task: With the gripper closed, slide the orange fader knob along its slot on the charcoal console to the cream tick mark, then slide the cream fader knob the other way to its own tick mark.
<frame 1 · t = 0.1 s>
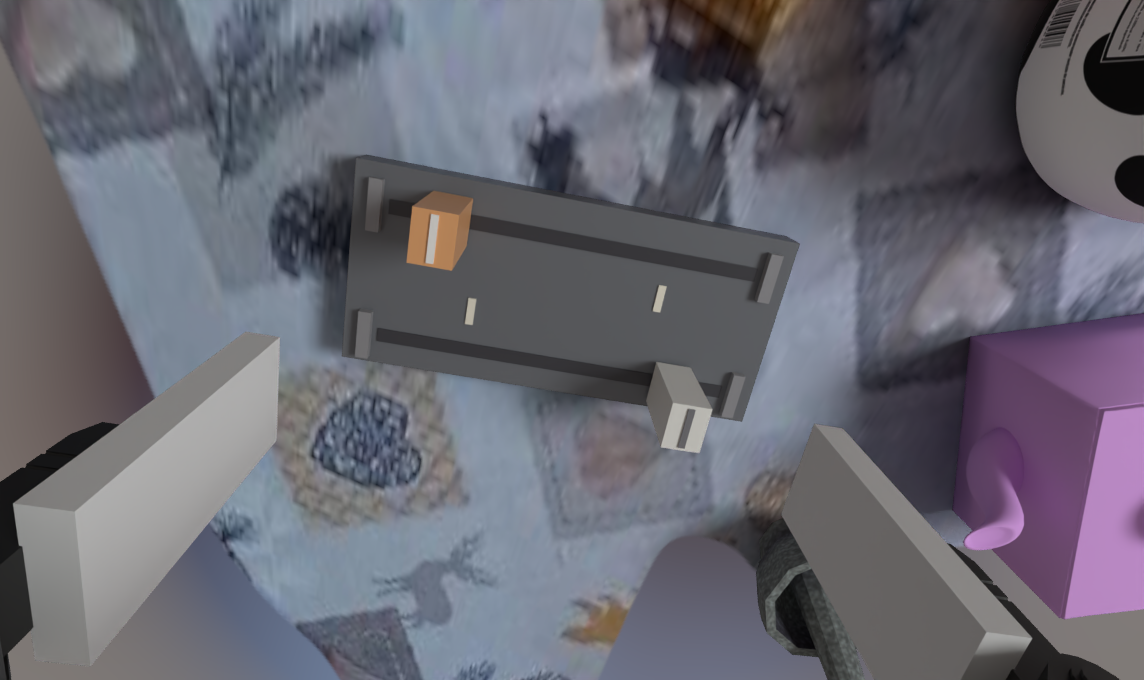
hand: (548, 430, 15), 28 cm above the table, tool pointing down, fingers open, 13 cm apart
cow-print canister: (1124, 71, 39), on the table
mortar and pestle: (795, 549, 52), on the table
teapot: (1027, 417, 48), on the table
console: (565, 290, 43), on the table
cream fader: (676, 405, 40), point 6 cm above the table, slide at 8.0 cm
orange fader: (442, 228, 35), point 6 cm above the table, slide at -8.0 cm
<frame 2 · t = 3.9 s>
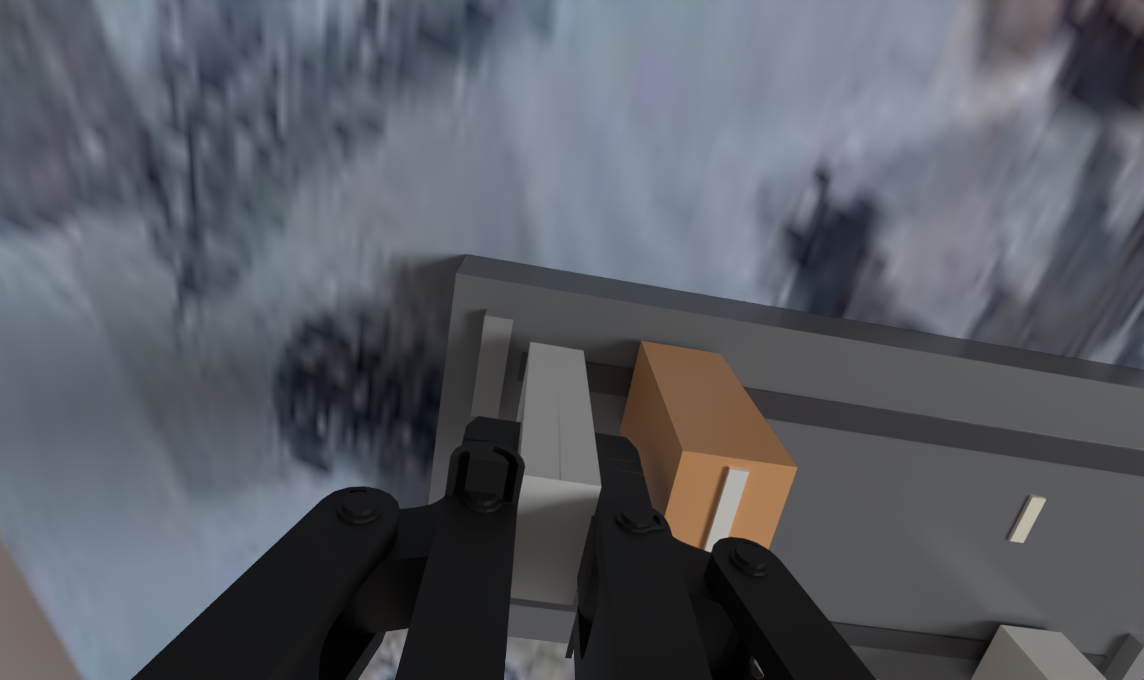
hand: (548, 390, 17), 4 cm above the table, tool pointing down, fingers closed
console: (818, 486, 23), on the table
orange fader: (690, 446, 16), point 6 cm above the table, slide at -7.2 cm, touching gripper
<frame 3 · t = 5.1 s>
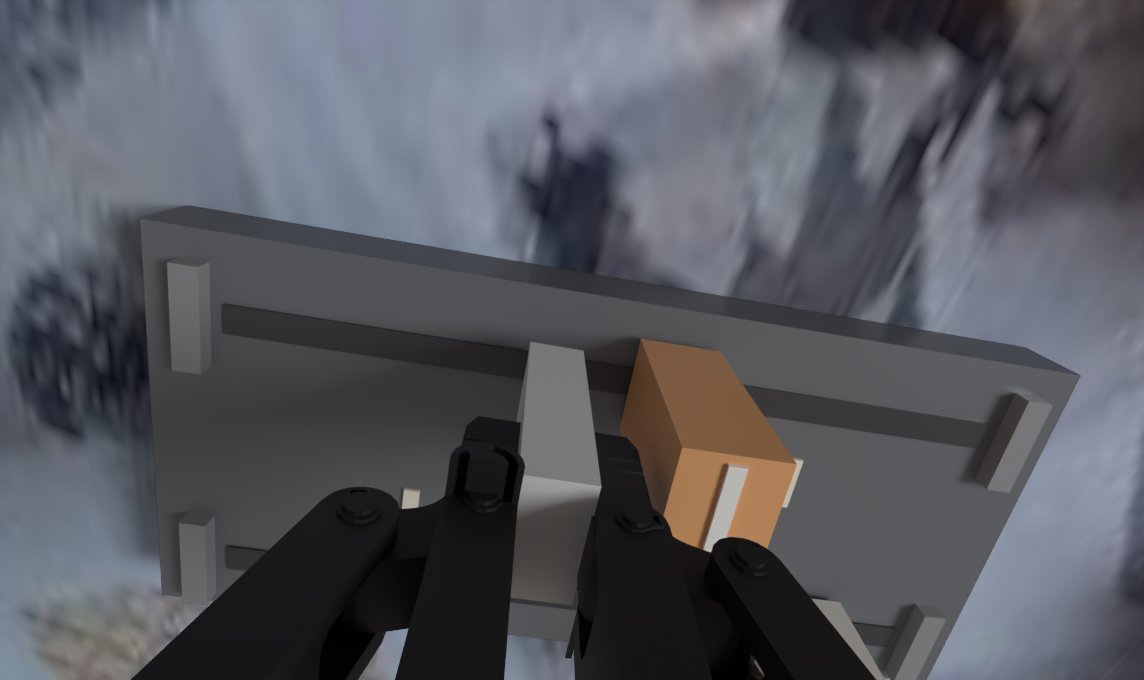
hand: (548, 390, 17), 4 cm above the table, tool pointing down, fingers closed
console: (595, 452, 23), on the table
orange fader: (690, 443, 16), point 6 cm above the table, slide at 1.3 cm, touching gripper
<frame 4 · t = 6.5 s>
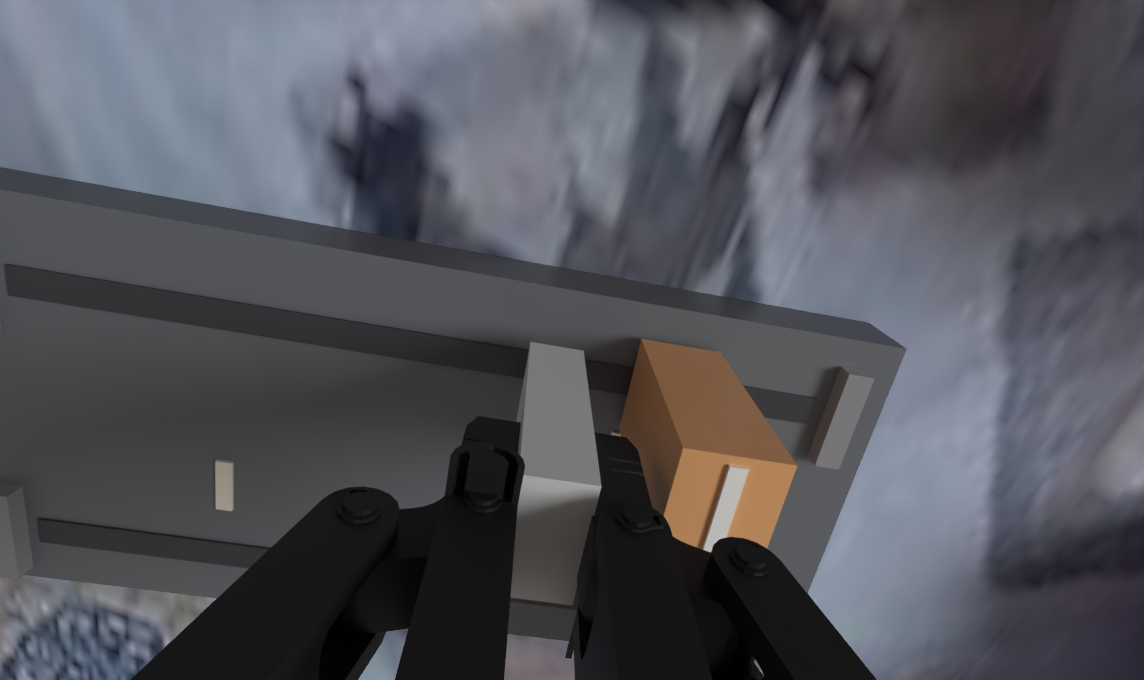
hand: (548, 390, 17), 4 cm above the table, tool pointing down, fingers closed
console: (433, 427, 22), on the table
orange fader: (690, 444, 16), point 6 cm above the table, slide at 7.1 cm, touching gripper
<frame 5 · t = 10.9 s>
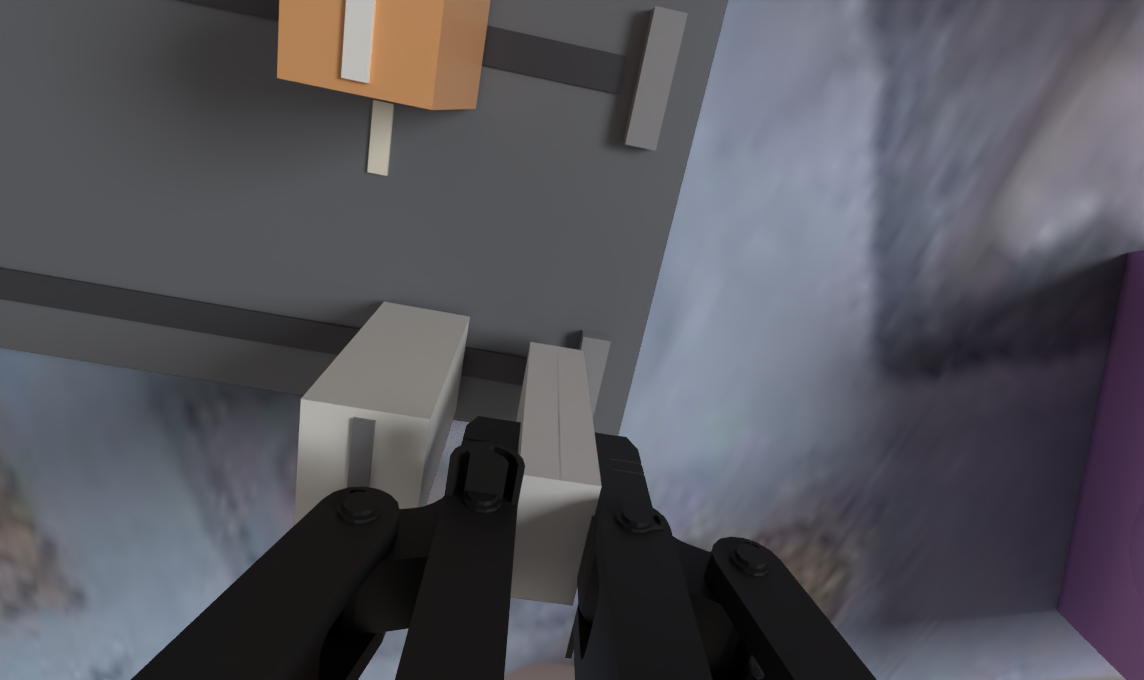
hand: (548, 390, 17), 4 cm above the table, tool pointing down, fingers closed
console: (191, 138, 18), on the table
cream fader: (395, 406, 15), point 6 cm above the table, slide at 7.7 cm, touching gripper
orange fader: (407, 16, 12), point 6 cm above the table, slide at 7.1 cm
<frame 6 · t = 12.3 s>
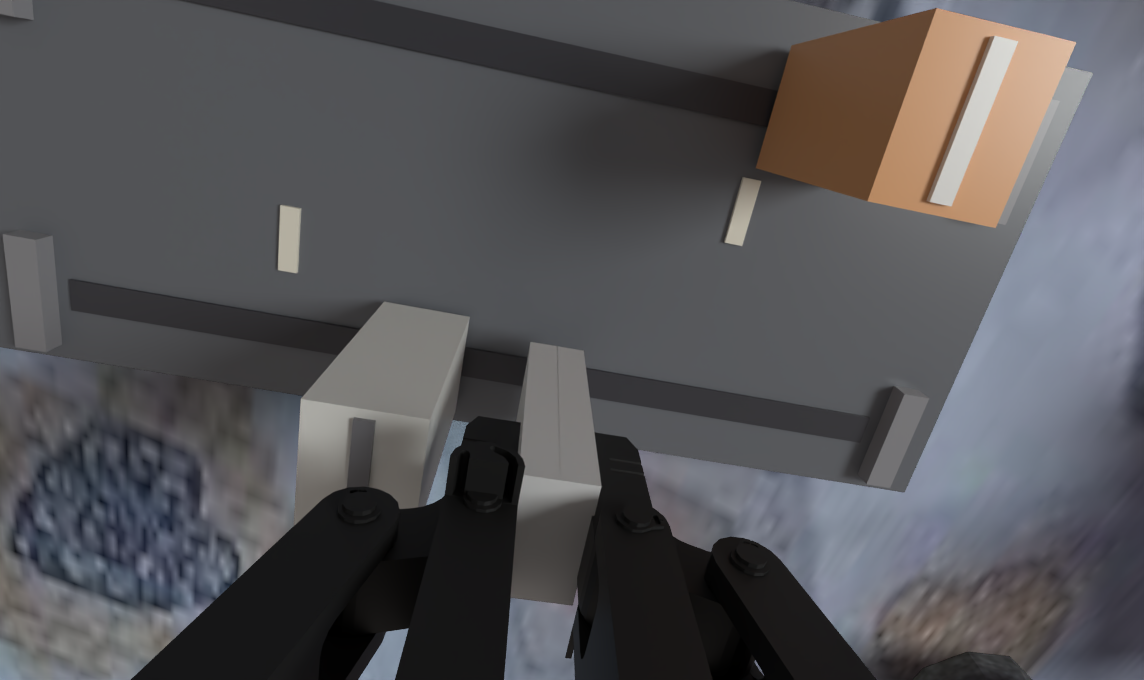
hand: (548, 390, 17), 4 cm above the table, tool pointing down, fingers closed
console: (522, 203, 19), on the table
cream fader: (395, 406, 15), point 6 cm above the table, slide at -2.1 cm, touching gripper
orange fader: (877, 120, 13), point 6 cm above the table, slide at 7.1 cm
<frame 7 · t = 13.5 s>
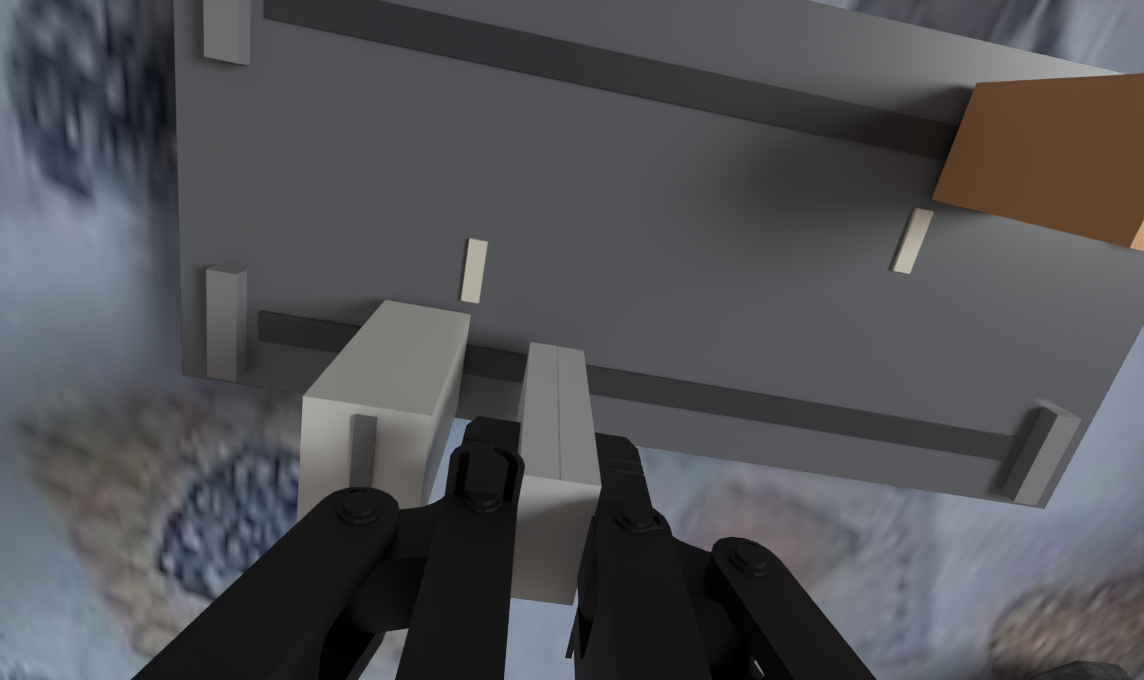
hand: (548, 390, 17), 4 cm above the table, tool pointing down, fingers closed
console: (679, 231, 20), on the table
cream fader: (397, 404, 15), point 6 cm above the table, slide at -7.1 cm, touching gripper
orange fader: (1091, 161, 14), point 6 cm above the table, slide at 7.1 cm
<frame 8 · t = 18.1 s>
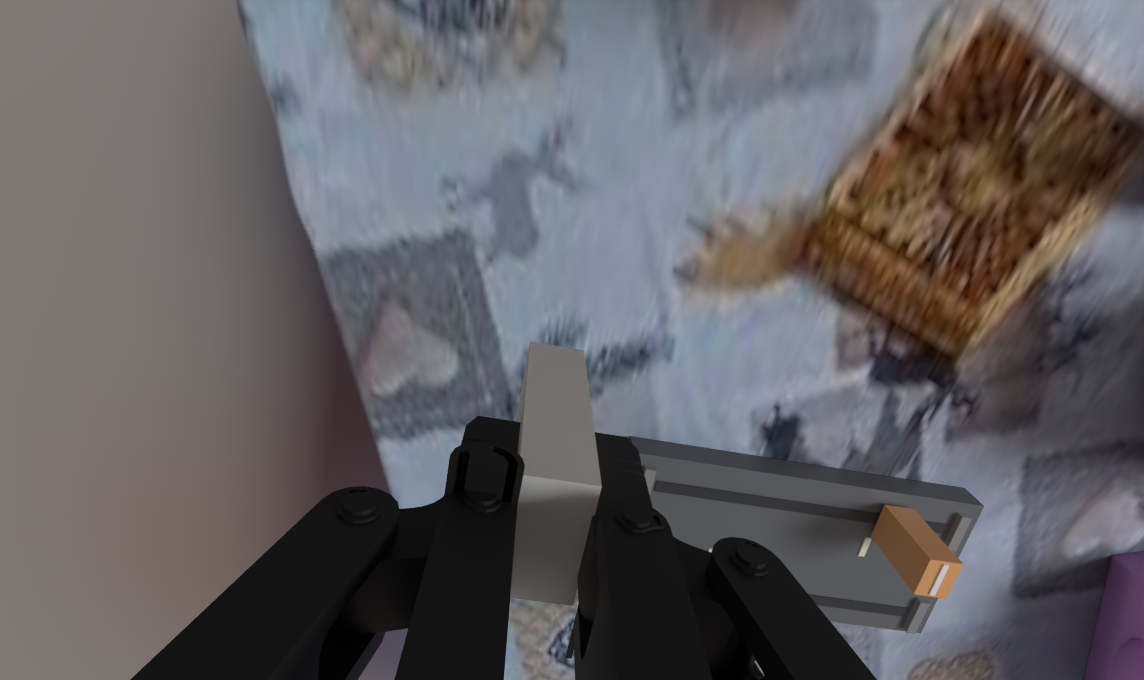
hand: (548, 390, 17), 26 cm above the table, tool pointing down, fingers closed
console: (777, 530, 52), on the table
orange fader: (914, 549, 45), point 6 cm above the table, slide at 7.1 cm
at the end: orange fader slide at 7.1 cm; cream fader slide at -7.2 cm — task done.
